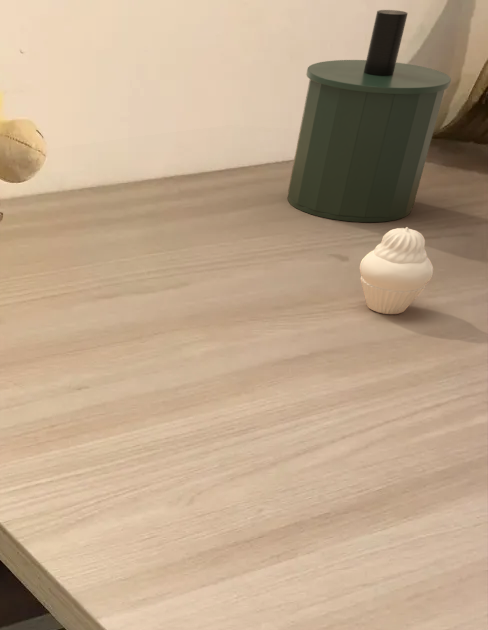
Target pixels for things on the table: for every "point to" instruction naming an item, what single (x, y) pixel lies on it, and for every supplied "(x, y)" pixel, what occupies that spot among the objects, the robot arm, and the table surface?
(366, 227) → the table surface
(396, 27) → the tin lid
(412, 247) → the muffin
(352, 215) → the tin
